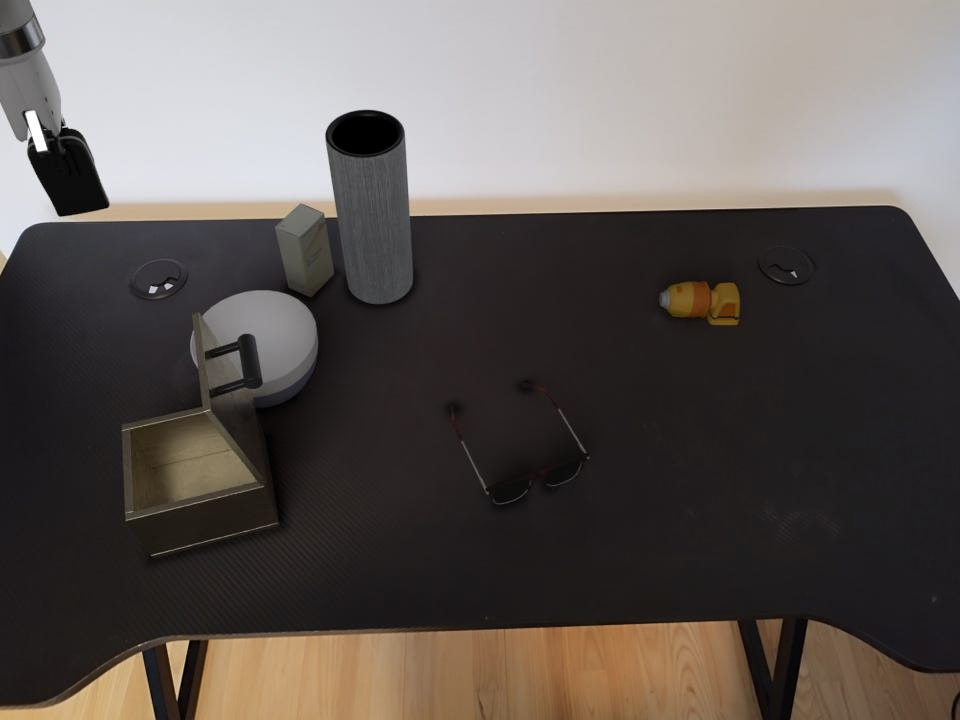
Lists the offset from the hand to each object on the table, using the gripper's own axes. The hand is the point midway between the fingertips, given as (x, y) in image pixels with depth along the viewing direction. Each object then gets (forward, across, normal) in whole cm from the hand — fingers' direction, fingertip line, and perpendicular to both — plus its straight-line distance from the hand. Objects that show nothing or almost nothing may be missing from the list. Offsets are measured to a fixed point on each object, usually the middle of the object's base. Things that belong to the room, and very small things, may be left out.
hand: (65, 165), depth 103 cm
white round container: (+22, +25, +18) cm, 38 cm away
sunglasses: (+22, +44, +47) cm, 68 cm away
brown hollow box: (+22, +40, +9) cm, 47 cm away
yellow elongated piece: (+21, +30, +81) cm, 89 cm away
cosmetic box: (+22, +8, +28) cm, 36 cm away
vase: (+21, +11, +38) cm, 45 cm away
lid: (+4, +41, +15) cm, 44 cm away
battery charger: (+7, 0, 0) cm, 7 cm away
